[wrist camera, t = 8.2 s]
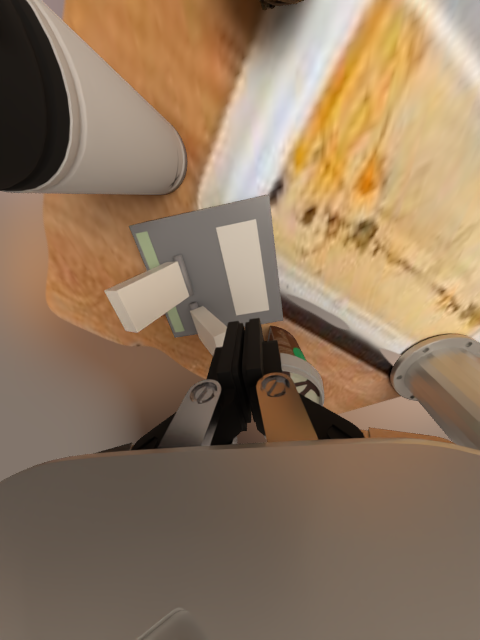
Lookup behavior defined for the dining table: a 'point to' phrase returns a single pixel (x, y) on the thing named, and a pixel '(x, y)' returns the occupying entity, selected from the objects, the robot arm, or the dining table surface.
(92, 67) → the travel mug
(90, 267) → the dining table surface
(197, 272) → the panel
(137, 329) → the paddle on
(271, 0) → the potato
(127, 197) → the dining table surface
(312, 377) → the food container
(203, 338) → the paddle
